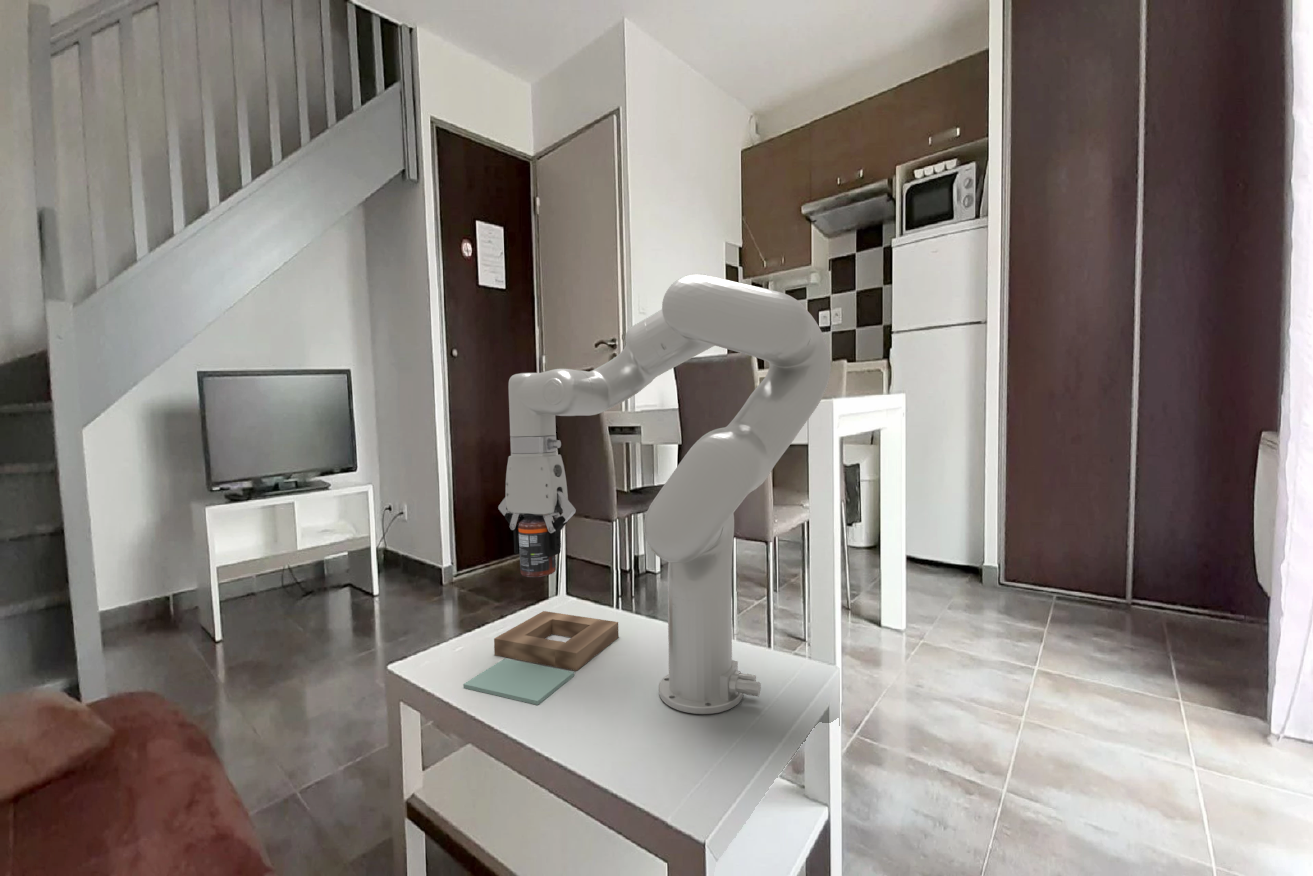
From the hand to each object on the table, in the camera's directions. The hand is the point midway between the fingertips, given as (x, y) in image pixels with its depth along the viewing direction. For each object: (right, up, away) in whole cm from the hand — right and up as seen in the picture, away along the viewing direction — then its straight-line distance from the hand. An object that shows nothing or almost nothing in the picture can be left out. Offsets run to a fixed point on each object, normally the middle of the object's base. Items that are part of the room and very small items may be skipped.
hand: (537, 552), depth 94 cm
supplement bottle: (0, -4, 0) cm, 4 cm away
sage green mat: (-2, -19, -5) cm, 20 cm away
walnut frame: (+2, -19, +8) cm, 21 cm away
